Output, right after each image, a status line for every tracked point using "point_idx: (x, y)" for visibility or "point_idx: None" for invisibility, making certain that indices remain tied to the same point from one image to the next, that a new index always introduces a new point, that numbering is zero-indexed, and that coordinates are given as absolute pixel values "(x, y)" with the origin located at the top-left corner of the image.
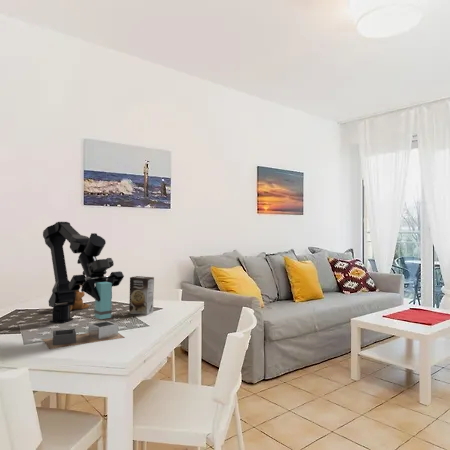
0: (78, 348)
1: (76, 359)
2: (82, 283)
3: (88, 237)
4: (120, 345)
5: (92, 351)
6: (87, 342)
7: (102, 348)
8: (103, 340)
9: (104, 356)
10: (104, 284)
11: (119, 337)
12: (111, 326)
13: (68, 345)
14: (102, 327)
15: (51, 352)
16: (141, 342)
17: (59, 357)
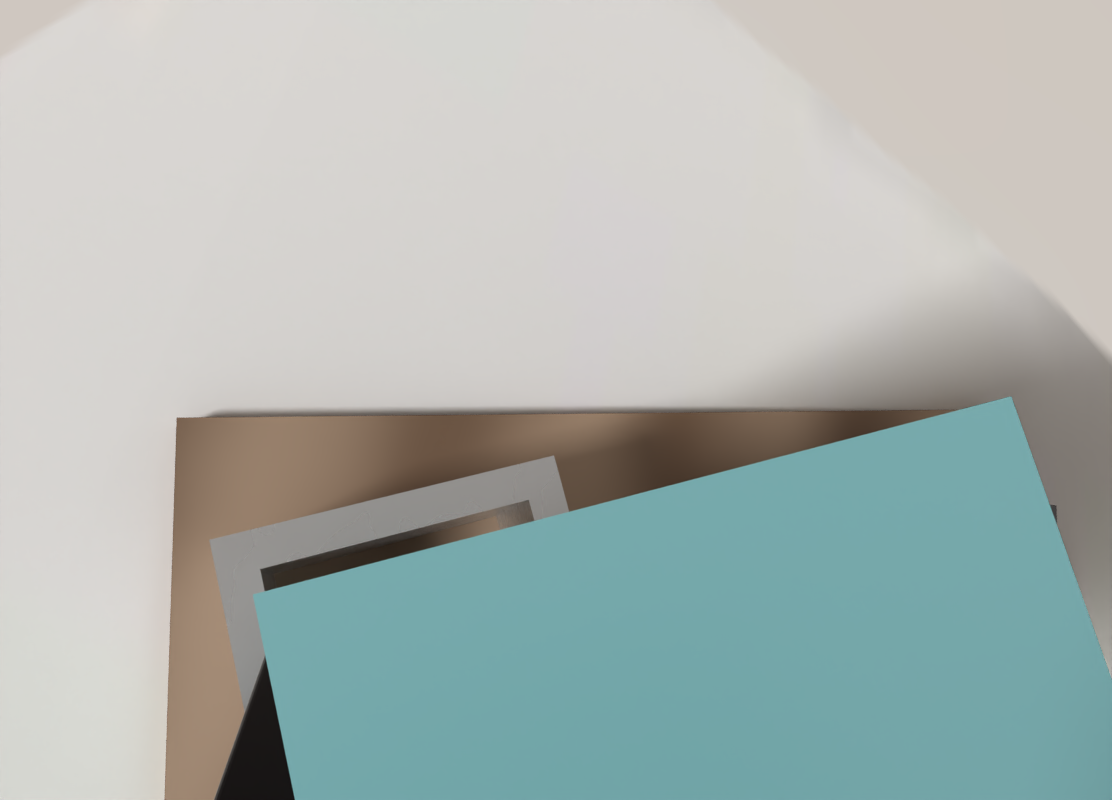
0: (743, 373)
1: (794, 76)
2: None
3: None
4: (319, 234)
5: (638, 204)
6: (655, 438)
7: (528, 241)
8: (472, 425)
9: (570, 8)
10: (788, 464)
11: (244, 454)
12: (340, 508)
13: (844, 431)
14: (496, 470)
15: (969, 381)
16: (32, 206)
17: (912, 205)
